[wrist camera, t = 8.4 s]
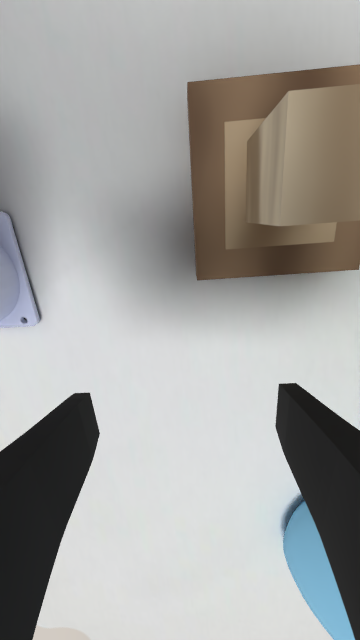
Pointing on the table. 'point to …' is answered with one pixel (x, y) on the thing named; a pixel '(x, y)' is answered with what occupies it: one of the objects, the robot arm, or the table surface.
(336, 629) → the sugar bowl
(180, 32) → the table surface
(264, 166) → the oak block
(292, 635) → the table surface
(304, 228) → the walnut plinth
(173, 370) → the table surface
